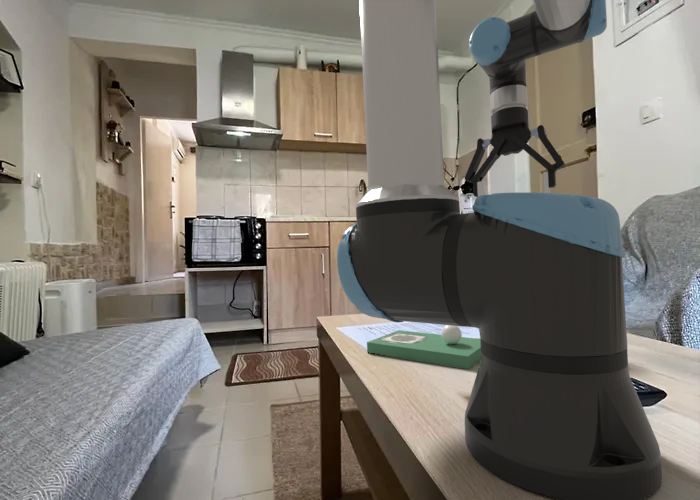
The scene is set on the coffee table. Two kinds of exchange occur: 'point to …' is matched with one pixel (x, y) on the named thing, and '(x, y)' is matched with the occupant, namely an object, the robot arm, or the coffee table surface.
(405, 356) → the putting strip
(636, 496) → the robot arm
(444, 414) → the coffee table surface
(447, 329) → the ball
